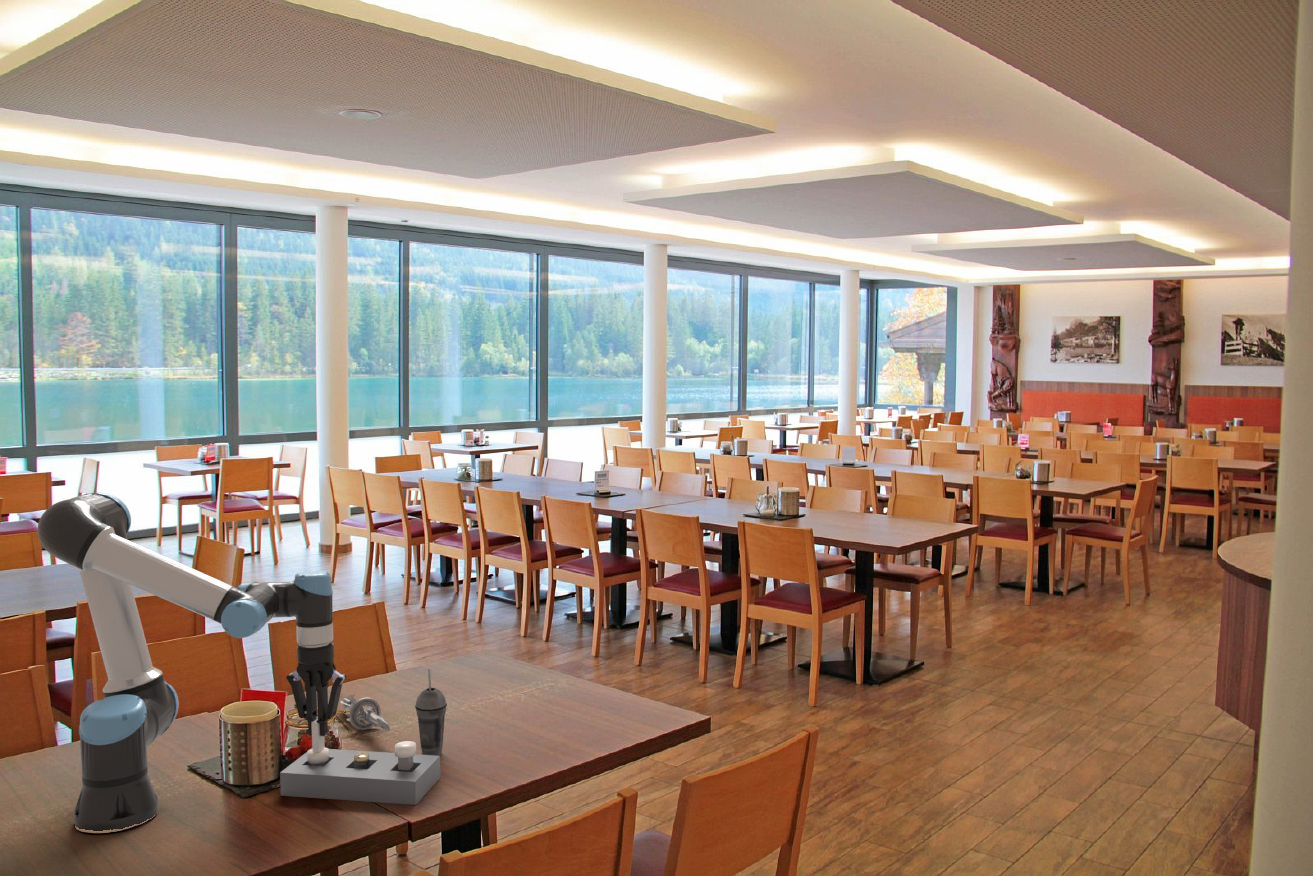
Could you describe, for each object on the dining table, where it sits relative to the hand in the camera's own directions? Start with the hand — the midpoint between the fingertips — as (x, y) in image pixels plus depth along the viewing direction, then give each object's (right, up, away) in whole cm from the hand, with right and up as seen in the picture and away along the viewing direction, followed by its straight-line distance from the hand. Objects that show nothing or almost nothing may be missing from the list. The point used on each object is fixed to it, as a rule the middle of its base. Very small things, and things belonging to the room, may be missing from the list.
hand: (318, 749), depth 221 cm
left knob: (0, -5, 0) cm, 5 cm away
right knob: (+20, -3, -3) cm, 20 cm away
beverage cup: (+21, -7, +17) cm, 28 cm away
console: (+10, -8, -1) cm, 12 cm away
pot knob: (+10, -4, -1) cm, 11 cm away
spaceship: (+1, -5, +34) cm, 34 cm away
